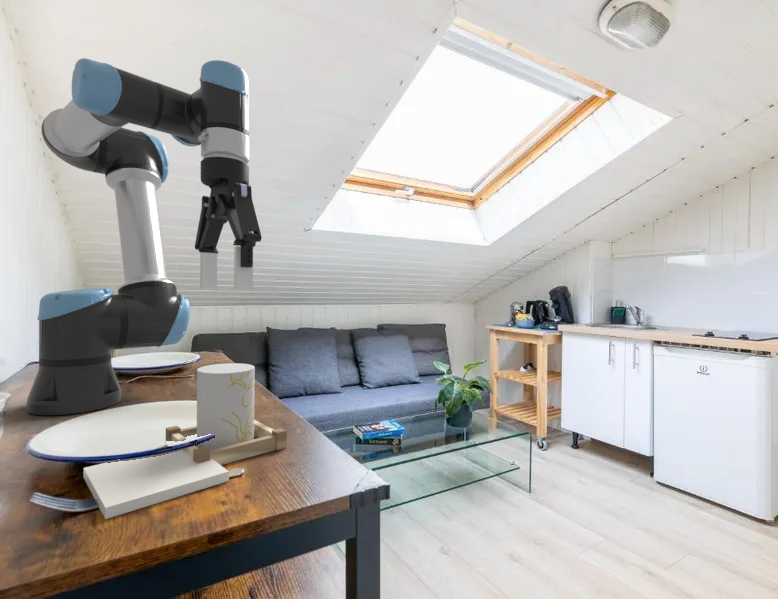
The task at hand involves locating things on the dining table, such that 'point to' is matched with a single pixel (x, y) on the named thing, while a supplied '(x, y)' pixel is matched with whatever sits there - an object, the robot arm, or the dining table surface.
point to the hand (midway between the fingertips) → (225, 289)
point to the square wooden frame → (224, 455)
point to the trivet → (149, 481)
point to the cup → (225, 404)
